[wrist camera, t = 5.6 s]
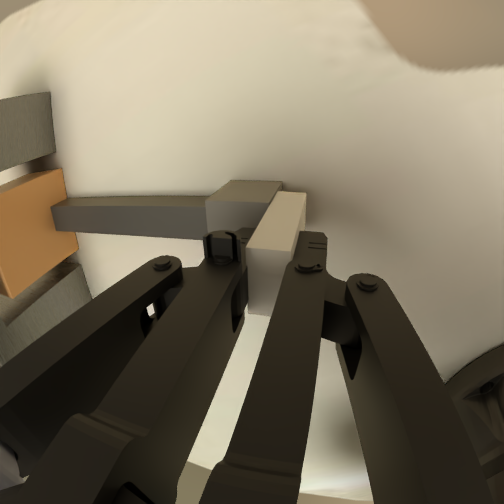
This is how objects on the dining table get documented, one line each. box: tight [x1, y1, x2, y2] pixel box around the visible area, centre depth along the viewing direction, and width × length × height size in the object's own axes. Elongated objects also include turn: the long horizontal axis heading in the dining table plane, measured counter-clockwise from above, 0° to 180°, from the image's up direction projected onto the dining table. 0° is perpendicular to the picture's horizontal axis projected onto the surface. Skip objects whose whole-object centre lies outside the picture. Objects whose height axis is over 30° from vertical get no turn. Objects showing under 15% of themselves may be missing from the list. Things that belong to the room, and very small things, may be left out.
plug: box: [0, 168, 282, 299], centre depth 17 cm, size 22×7×8 cm, turn 92°
